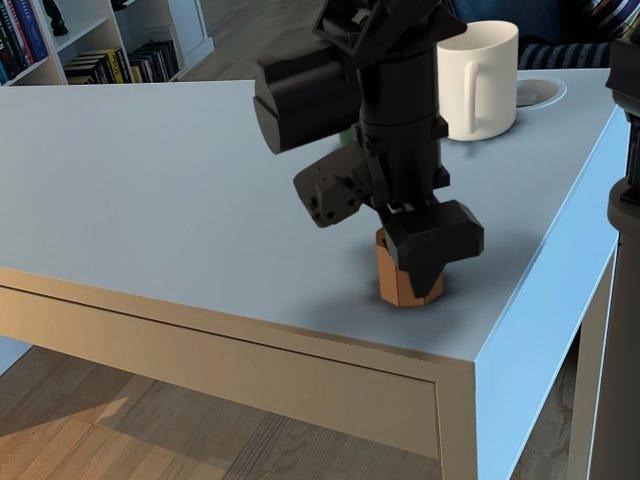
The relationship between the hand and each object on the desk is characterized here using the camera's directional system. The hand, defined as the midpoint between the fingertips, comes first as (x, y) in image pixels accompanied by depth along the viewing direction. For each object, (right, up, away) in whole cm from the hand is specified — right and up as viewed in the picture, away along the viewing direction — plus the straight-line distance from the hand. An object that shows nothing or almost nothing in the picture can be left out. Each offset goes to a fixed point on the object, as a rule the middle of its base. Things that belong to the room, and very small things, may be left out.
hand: (410, 278), depth 67 cm
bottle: (+2, +18, +23) cm, 29 cm away
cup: (+13, +18, +19) cm, 30 cm away
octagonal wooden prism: (0, -1, +1) cm, 1 cm away
